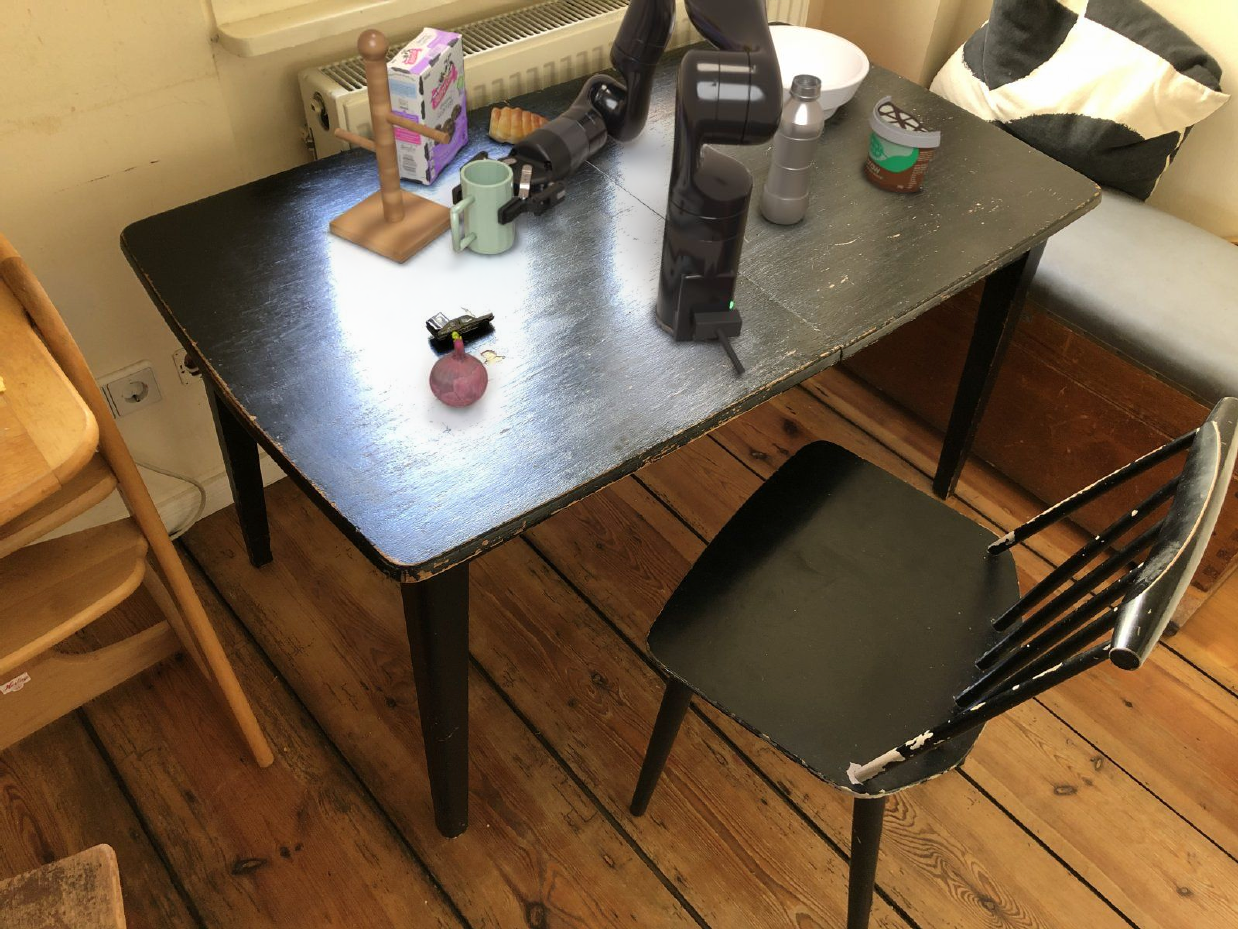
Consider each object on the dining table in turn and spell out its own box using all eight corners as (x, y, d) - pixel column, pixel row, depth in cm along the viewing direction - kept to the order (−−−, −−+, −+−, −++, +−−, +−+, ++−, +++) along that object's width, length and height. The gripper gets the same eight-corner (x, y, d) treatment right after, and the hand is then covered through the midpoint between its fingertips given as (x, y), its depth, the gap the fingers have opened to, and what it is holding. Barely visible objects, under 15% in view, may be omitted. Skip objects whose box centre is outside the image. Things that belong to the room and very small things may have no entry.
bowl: (785, 62, 175) (794, 13, 169) (886, 114, 164) (899, 64, 157) (691, 96, 164) (697, 45, 158) (791, 155, 153) (802, 103, 147)
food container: (840, 163, 152) (855, 100, 145) (872, 155, 154) (889, 93, 147) (890, 204, 145) (908, 141, 138) (923, 195, 147) (943, 132, 140)
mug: (484, 220, 136) (481, 153, 129) (524, 237, 134) (522, 169, 127) (435, 258, 130) (429, 189, 123) (476, 275, 128) (471, 207, 121)
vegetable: (498, 396, 113) (495, 326, 105) (471, 431, 109) (466, 361, 101) (451, 379, 114) (445, 309, 107) (422, 413, 110) (414, 343, 103)
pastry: (552, 125, 155) (552, 102, 152) (550, 148, 150) (550, 125, 148) (491, 122, 155) (490, 99, 152) (487, 145, 150) (486, 121, 147)
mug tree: (483, 230, 135) (473, 35, 116) (426, 274, 127) (405, 74, 108) (378, 187, 141) (353, -5, 121) (318, 227, 133) (281, 29, 114)
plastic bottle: (802, 234, 138) (833, 95, 124) (754, 226, 139) (778, 88, 125) (806, 209, 143) (836, 72, 128) (759, 201, 143) (783, 65, 129)
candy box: (430, 187, 141) (420, 74, 129) (392, 178, 142) (378, 65, 130) (470, 141, 151) (464, 32, 139) (434, 133, 152) (425, 24, 140)
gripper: (506, 113, 137) (429, 164, 127) (595, 145, 133) (523, 201, 123) (508, 162, 143) (434, 215, 133) (593, 195, 138) (524, 252, 128)
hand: (477, 208), depth 128 cm, fingers closed on mug, 6 cm apart
